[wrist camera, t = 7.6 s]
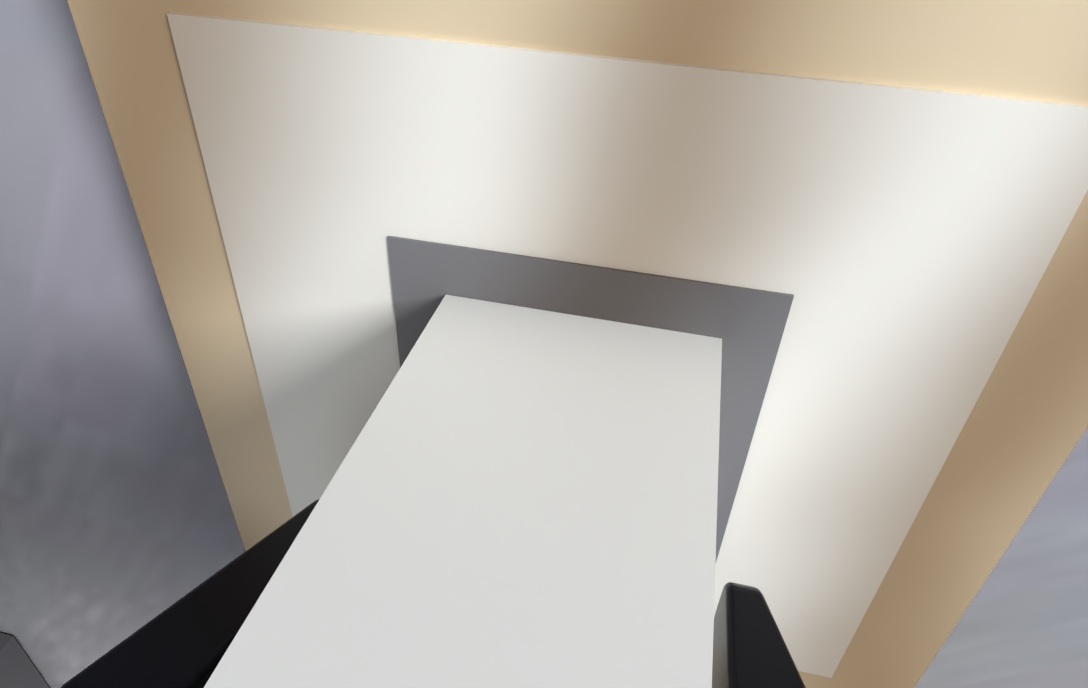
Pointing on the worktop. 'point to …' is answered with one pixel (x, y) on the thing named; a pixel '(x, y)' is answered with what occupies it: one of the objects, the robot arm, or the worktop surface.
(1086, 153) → the picture frame
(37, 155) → the worktop surface
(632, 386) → the two-tone grey block
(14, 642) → the button housing
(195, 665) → the robot arm
